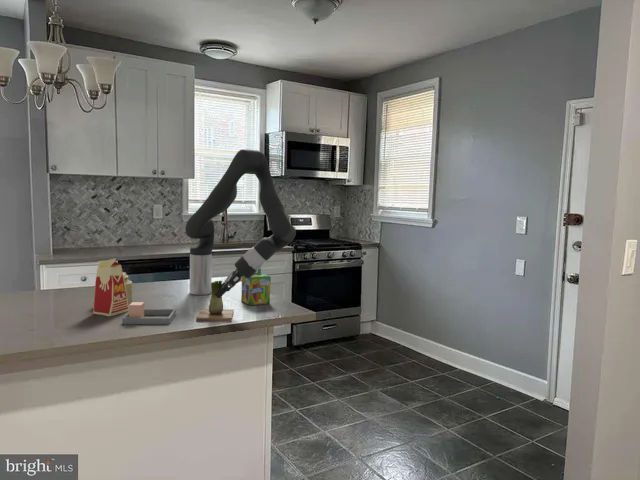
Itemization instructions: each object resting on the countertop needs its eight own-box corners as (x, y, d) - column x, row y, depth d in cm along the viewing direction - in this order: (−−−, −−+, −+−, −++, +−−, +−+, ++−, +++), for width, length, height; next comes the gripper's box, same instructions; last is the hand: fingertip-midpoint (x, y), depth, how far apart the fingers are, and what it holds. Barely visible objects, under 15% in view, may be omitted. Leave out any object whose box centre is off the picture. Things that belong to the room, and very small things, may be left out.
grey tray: (132, 314, 168) (132, 308, 167) (175, 314, 170) (175, 309, 169) (122, 323, 156) (122, 318, 156) (169, 324, 158) (169, 318, 158)
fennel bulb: (220, 311, 172) (220, 278, 171) (226, 314, 169) (227, 281, 167) (205, 313, 168) (206, 280, 167) (212, 316, 165) (212, 282, 163)
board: (200, 312, 174) (200, 309, 174) (233, 312, 175) (233, 309, 175) (196, 321, 162) (196, 318, 162) (231, 321, 163) (231, 318, 163)
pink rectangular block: (132, 319, 162) (132, 302, 161) (144, 319, 162) (144, 302, 162) (129, 322, 158) (128, 305, 157) (141, 322, 159) (141, 305, 158)
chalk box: (249, 306, 186) (250, 269, 184) (240, 301, 193) (241, 265, 192) (270, 303, 191) (271, 268, 189) (260, 299, 198) (261, 264, 197)
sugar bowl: (97, 299, 186) (97, 262, 185) (127, 297, 192) (127, 261, 191) (103, 308, 174) (103, 268, 172) (135, 305, 180) (134, 267, 178)
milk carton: (129, 310, 172) (129, 256, 170) (110, 316, 164) (110, 260, 162) (109, 307, 175) (109, 254, 173) (90, 313, 167) (89, 258, 165)
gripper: (244, 252, 174) (212, 282, 174) (242, 257, 160) (207, 290, 160) (258, 266, 175) (226, 296, 175) (257, 273, 161) (223, 305, 161)
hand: (217, 293), depth 168 cm, fingers open, 8 cm apart
